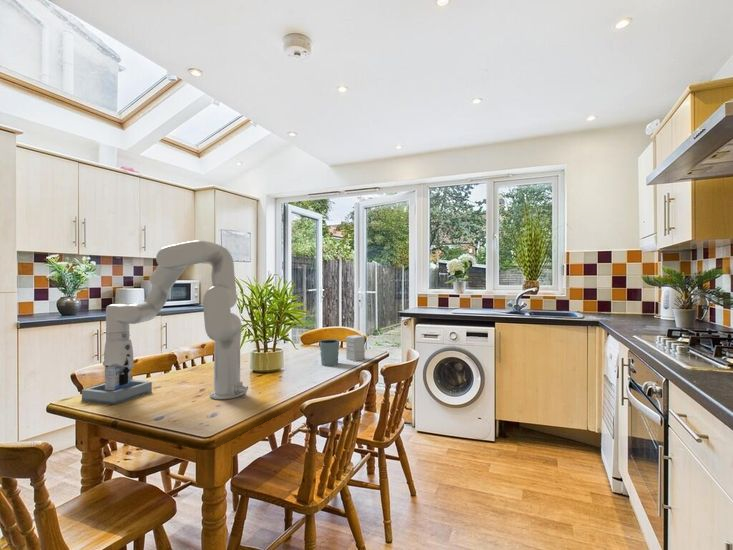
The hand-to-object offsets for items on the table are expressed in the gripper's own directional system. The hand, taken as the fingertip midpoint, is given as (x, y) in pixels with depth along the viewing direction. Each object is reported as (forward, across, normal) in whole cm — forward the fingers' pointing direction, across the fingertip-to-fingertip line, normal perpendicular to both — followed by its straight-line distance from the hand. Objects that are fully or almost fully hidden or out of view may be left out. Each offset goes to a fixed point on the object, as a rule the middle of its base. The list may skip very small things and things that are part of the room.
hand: (118, 383), depth 148 cm
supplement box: (+5, -66, -87) cm, 109 cm away
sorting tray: (+5, 0, 0) cm, 5 cm away
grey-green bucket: (+5, -57, -72) cm, 92 cm away
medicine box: (+2, 0, 0) cm, 2 cm away
